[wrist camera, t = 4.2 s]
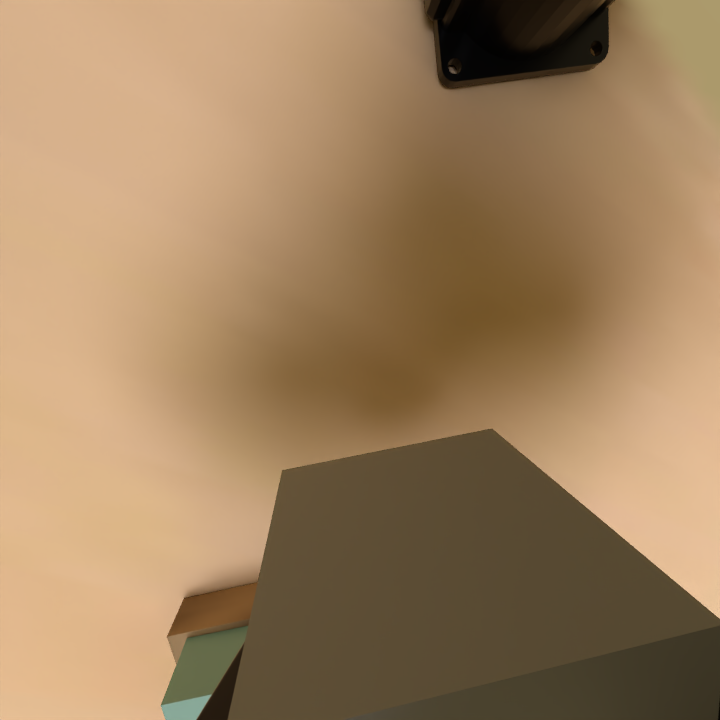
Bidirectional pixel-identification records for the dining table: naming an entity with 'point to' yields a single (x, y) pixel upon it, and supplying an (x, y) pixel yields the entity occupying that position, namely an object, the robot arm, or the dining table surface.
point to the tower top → (200, 672)
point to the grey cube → (463, 600)
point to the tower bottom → (211, 614)
